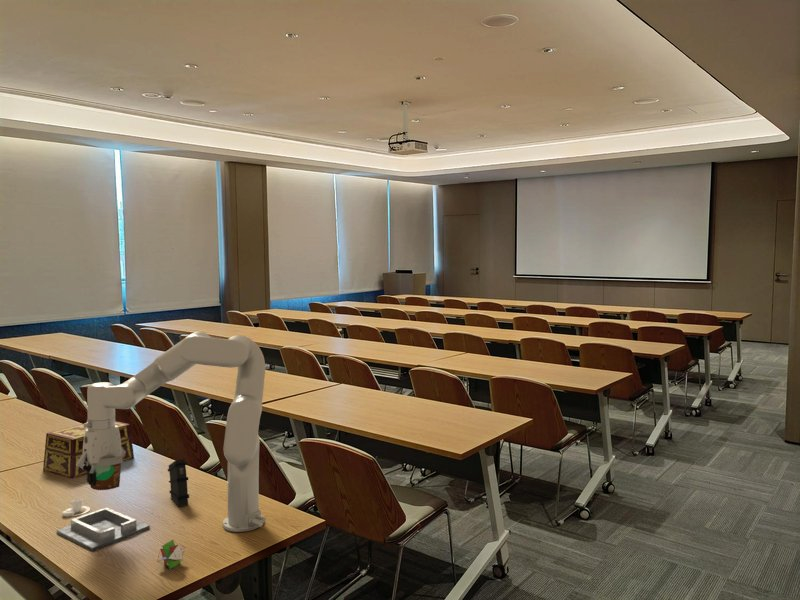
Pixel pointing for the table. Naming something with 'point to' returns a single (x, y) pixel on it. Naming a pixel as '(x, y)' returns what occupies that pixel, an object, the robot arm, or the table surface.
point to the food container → (107, 473)
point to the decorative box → (76, 449)
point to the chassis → (101, 528)
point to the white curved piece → (75, 508)
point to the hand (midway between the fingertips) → (101, 481)
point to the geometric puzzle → (171, 554)
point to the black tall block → (178, 482)
